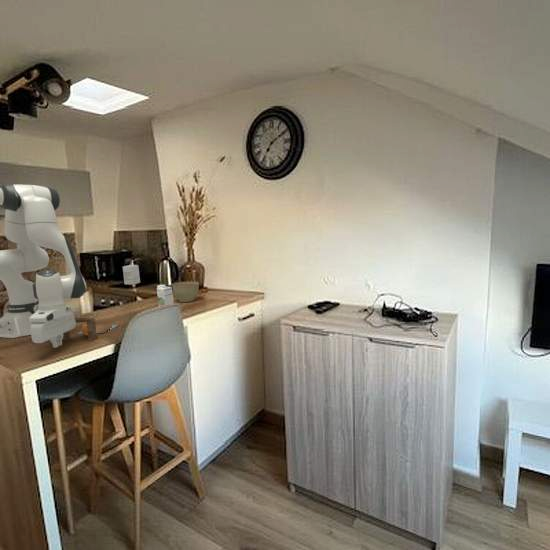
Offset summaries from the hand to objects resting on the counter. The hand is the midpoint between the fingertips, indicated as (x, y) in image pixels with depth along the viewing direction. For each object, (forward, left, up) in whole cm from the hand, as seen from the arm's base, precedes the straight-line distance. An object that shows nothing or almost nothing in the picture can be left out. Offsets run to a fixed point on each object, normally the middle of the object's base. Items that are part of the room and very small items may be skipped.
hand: (57, 346), depth 142 cm
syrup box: (+22, +54, -2) cm, 58 cm away
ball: (+1, +19, +1) cm, 19 cm away
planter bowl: (+22, +85, -2) cm, 88 cm away
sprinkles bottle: (+15, +66, -2) cm, 68 cm away
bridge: (0, +13, -2) cm, 13 cm away
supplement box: (-49, +153, -2) cm, 161 cm away
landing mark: (0, +27, -2) cm, 27 cm away
